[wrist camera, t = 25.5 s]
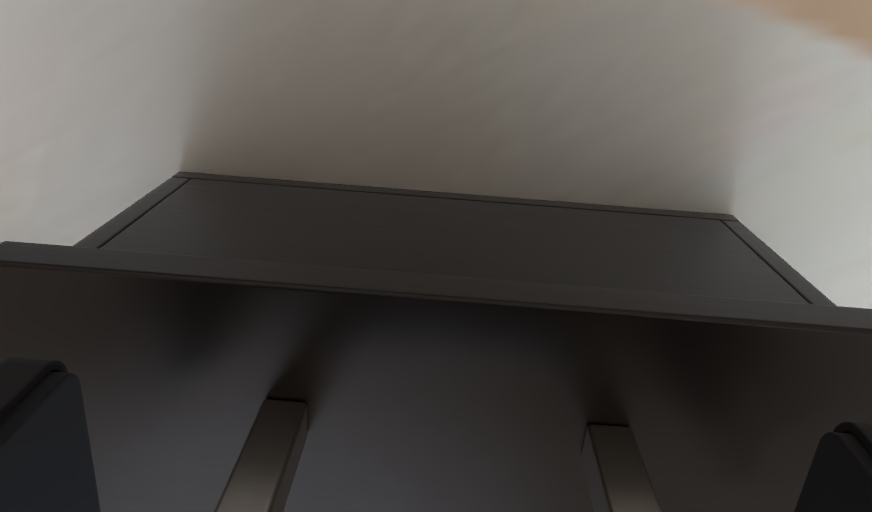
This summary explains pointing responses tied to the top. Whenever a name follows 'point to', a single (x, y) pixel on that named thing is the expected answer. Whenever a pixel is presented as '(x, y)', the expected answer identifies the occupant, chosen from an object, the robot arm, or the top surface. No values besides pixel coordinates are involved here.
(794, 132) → the top surface
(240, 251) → the black shallow rectangular box
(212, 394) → the lid
